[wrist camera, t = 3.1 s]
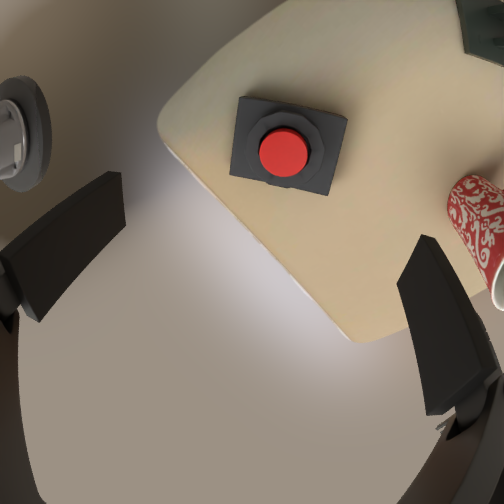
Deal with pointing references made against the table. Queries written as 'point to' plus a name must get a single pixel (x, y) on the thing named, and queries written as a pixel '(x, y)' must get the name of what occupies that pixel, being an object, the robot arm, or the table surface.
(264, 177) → the switch block
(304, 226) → the table surface
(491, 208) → the mug
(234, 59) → the table surface
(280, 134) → the button
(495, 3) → the lever bracket
